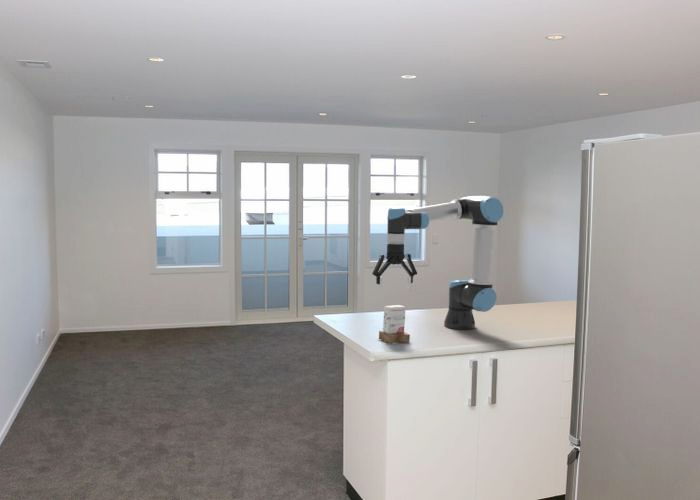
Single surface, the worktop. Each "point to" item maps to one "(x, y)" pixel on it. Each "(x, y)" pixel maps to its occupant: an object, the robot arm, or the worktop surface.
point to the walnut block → (394, 337)
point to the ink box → (394, 319)
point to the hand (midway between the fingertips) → (394, 291)
